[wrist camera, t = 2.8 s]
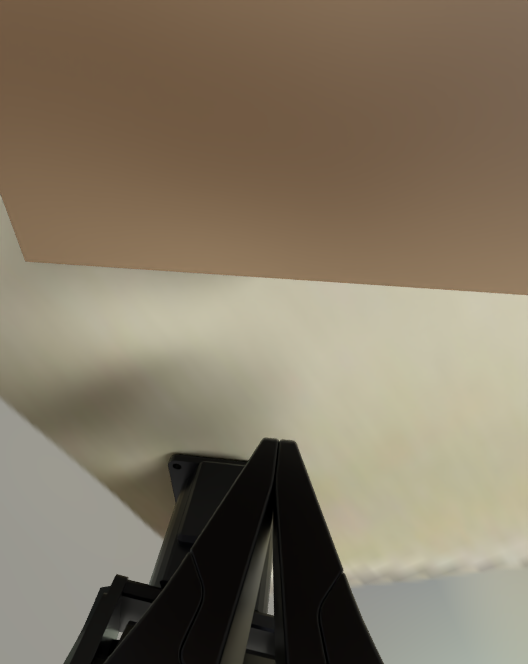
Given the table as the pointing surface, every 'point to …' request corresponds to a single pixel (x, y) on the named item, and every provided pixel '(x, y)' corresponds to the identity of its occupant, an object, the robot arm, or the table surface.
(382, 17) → the block
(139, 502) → the table surface
